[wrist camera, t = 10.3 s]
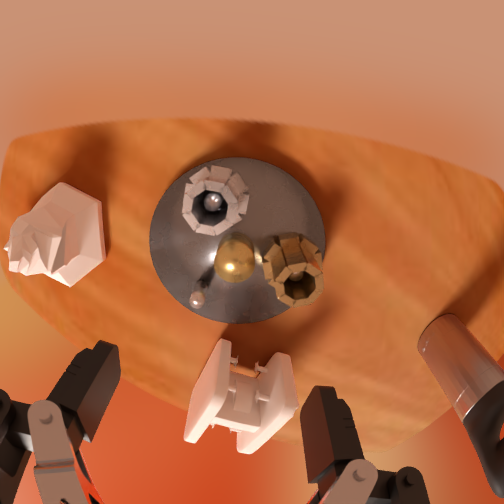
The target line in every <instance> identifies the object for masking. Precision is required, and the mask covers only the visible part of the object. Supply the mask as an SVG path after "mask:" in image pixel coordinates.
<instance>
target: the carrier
mask: <svg viewBox="0 0 504 504" xmlns="http://www.w3.org/2000/svg"><path fill="white" fill-rule="evenodd" d="M213 164H215V165H221V166H226V167H231V168H233V170H232V175H233V174H234V173H236V172H237V171H238V172H239V173H240V175H241V176H242V178H243V179H244V181H245V182H246V184H247V185H248V187H249V189H248V190H247V191H245V192H249V193H250V196H249V200H248V205H247V209H246V214H242V220H240V221H239V222H237V223H235V224H234V225H233V226H231V227H230V228H228V229H226V230H225V231H223V232H222V233H220V234H219V235H216V234H215V236H212V235H207V234H202V233H197V232H196V230H194V231H193V229H192V228H191V227H190V225H189V224H188V222H187V221H186V220H185V218H184V217H183V214H184V213H182V208H183V200H184V193H185V187H186V183H187V182H189V181H191V180H190V177H192V176H193V175H194V174H196V173H197V172H199V171H200V170H202V169H203V168H204V167H206V166H209V167H210V169H211V167H212V165H213ZM203 200H204V206H205V208H206V209H208V210H210V211H215V210H220V211H221V210H222V209H224V208H225V207H227V206H228V203H227V202H226V200H225V199H224V197H223V196H222V194H221V193H220V192H215V191H210V190H204V193H203ZM295 232H297V234H298V236H300V235H301V234H303V235H305V236H306V237H307V238H309V239H310V240H312V241H313V242H314V243H316V245H317V247H318V248H319V250H320V252H321V256H322V262H323V259H324V253H325V231H324V225H323V221H322V218H321V215H320V212H319V210H318V208H317V206H316V204H315V202H314V200H313V199H312V197H311V196H310V194H309V193H308V191H307V190H306V189H305V188H304V187H303V186H302V185H301V184H300V183H299V182H298V181H297V180H296V179H295V178H293V177H292V176H291V175H290V174H288V173H287V172H285V171H284V170H282V169H280V168H279V167H277V166H274V165H272V164H270V163H268V162H264V161H261V160H257V159H253V158H245V157H228V158H221V159H216V160H213V161H209V162H206V163H204V164H201V165H199V166H197V167H195V168H193V169H191V170H189V171H188V172H186V173H185V174H183V175H182V176H181V177H179V178H178V179H177V180H176V181H175V182H174V183H173V184H172V185H171V186H170V187H169V188H168V189H167V190H166V192H165V193H164V195H163V196H162V198H161V199H160V201H159V203H158V205H157V207H156V209H155V212H154V215H153V218H152V221H151V227H150V239H149V244H150V252H151V257H152V261H153V265H154V267H155V270H156V272H157V275H158V276H159V278H160V280H161V282H162V283H163V285H164V286H165V287H166V289H167V290H168V292H169V293H170V294H171V295H172V296H173V297H174V298H175V299H176V300H177V301H179V302H180V303H181V304H182V305H183V306H185V307H186V308H188V309H189V310H191V311H192V312H194V313H196V314H198V315H200V316H203V317H205V318H208V319H211V320H215V321H219V322H224V323H234V324H243V323H253V322H258V321H263V320H266V319H269V318H272V317H274V316H276V315H278V314H281V313H282V312H284V311H286V310H287V309H289V308H291V307H290V306H288V305H287V304H285V303H283V302H282V301H280V300H278V298H277V296H276V290H275V288H274V287H273V286H271V285H270V284H268V279H266V280H265V275H264V269H263V264H262V257H263V252H264V250H265V249H266V248H267V246H268V245H269V244H270V242H271V241H272V240H273V238H274V239H276V240H277V241H278V242H279V236H278V235H284V234H289V233H295ZM303 275H304V273H303V271H300V272H294V273H291V274H290V275H289V279H290V280H292V281H299V280H300V279H301V278H302V277H303Z"/></svg>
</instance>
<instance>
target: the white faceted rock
mask: <svg viewBox="0 0 504 504" xmlns="http://www.w3.org/2000/svg"><path fill="white" fill-rule="evenodd" d="M4 249H5V250H7V251H8V256H9V261H10V262H9V271H13V272H21V273H22V274H24V275H25V276H28V275H32V274H39V273H44V274H46V275H48V276H49V277H51V278H53V279H55V280H57V281H59V282H61V283H63V284H65V285H67V286H70V287H71V286H73V285H74V284H75V283H76V282H77V281H79V280H80V279H81V278H82V277H84V276H85V275H86V274H87V273H89V272H90V271H91V270H92V269H94V268H95V267H96V266H97V265H99V264H100V263H101V262H103V261H104V260H105V259H106V252H105V242H104V232H103V219H102V202H101V201H99V200H97V199H95V198H93V197H92V196H90V195H88V194H86V193H84V192H82V191H80V190H78V189H76V188H74V187H72V186H70V185H69V184H67V183H63V182H59V183H58V184H57V185H55V186H54V187H53V188H52V189H51V190H49V191H48V192H47V193H46V194H45V195H44V196H42V197H41V199H40V200H39V201H38V202H37V204H36V205H35V206H34V207H33V208H32V210H31V211H30V212H29V213H26V214H24V215H22V216H19V217H18V218H17V219H16V221H15V222H14V224H13V225H12V227H11V230H10V238H9V241H8V242H7V244H6V245H5V247H4Z"/></svg>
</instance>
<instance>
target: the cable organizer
mask: <svg viewBox="0 0 504 504" xmlns="http://www.w3.org/2000/svg"><path fill="white" fill-rule="evenodd" d="M231 346H232V343H231V341H228V340H225V339H222V338H221V339H220V340H219V341H218V342H217V344H216V346H215V348H214V350H213V352H212V354H211V356H210V357H209V359H208V361H207V363H206V365H205V367H204V369H203V371H202V373H201V375H200V377H199V379H198V381H197V383H196V384H195V387H194V389H193V392H192V395H191V400H190V405H189V411H188V416H187V421H186V427H185V433H184V440H185V441H187V442H191V443H196V441H197V440H198V439H199V438H200V436H201V435H202V434H203V432H204V431H205V429H206V428H207V427H208V425H209V424H211V425H213V426H212V428H213V427H214V425H215V424H219V425H222V426H226V427H230V432H231V430H232V431H236V432H237V450H238V452H241V453H246V454H251V453H253V452H254V451H256V450H257V449H259V447H260V446H261V445H263V444H264V443H265V442H266V441H267V440H268V439H270V437H271V436H273V435H274V434H275V433H276V432H277V431H278V430H279V429H280V428H281V427H282V426H283V425H284V424H285V423H286V422H287V421H288V420H289V419H290V418H292V417H293V415H294V412H295V411H296V409H298V408H299V402H298V399H297V393H296V387H295V381H294V375H293V369H292V363H291V358H290V356H289V355H287V354H284V353H280V352H277V353H275V354H274V355H273V356H272V357H271V359H270V360H269V362H268V363H267V364H266V366H265V367H262V366H258V362H257V363H256V362H255V369H254V371H255V372H257V371H260V372H261V373H260V374H259V376H258V377H257V378H253V377H250V376H246V375H243V374H239V373H236V372H233V371H230V362H231V363H234V366H235V368H236V365H237V363H238V356H237V358H233V357H231ZM258 361H259V360H258Z"/></svg>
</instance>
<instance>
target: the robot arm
mask: <svg viewBox="0 0 504 504" xmlns="http://www.w3.org/2000/svg"><path fill="white" fill-rule="evenodd" d="M418 351H419V353H420V354H421V356H422V357H423V359H424V360H425V362H426V363H427V365H428V367H429V368H430V370H431V371H432V373H433V374H434V376H435V378H436V379H437V381H438V382H439V384H440V386H441V387H442V389H443V390H444V392H445V394H446V395H447V397H448V399H449V400H450V402H451V404H452V405H453V407H454V409H455V410H456V412H457V414H458V416H459V417H460V419H461V421H462V423H463V425H464V426H465V428H466V430H467V432H468V435H469V437H470V439H471V442H472V444H473V445H474V448H475V450H476V452H477V454H478V457H479V459H480V462H481V464H482V467H483V469H484V472H485V475H486V477H487V480H488V483H489V485H490V487H491V488H492V490H493V492H494V493H495V495H497V496H498V497H500V498H504V438H503V439H502V440H500V437H499V436H500V431H501V428H502V425H503V423H504V371H503V369H502V368H501V367H500V366H499V365H498V363H497V362H496V361H495V360H494V358H493V357H492V356H491V355H490V354H489V352H488V351H487V350H486V349H485V348H484V347H483V345H482V344H481V343H480V342H479V341H478V340H477V339H476V338H475V336H474V335H473V334H472V333H471V332H470V331H469V330H468V329H467V327H466V326H465V325H464V324H463V323H462V322H461V321H460V320H459V319H458V318H457V317H456V316H455V315H453V314H445V315H443V316H441V317H439V318H437V319H436V320H434V321H433V322H432V323H431V324H430V325H429V326H428V327H427V328H426V329H425V331H424V332H423V334H422V335H421V337H420V340H419V343H418ZM120 375H121V369H120V360H119V351H118V346H117V345H114V344H111V343H108V342H105V341H102V340H99V341H98V342H97V344H96V345H95V347H94V348H93V350H91V349H88V348H86V349H84V350H82V351H81V352H79V353H78V354H77V355H76V356H75V357H74V359H73V360H72V362H71V364H70V365H69V366H68V367H67V369H66V372H64V373H63V375H62V376H61V378H60V379H59V381H58V382H57V384H56V385H55V387H54V389H53V390H52V392H51V393H50V395H49V396H48V398H47V399H46V400H40V401H36V402H34V403H33V404H25V403H21V402H17V401H13V400H11V399H10V397H9V395H8V394H7V393H6V392H5V391H3V390H2V389H0V504H13V502H14V498H15V495H16V492H17V489H18V487H19V483H20V481H21V478H22V476H23V473H24V470H25V467H26V465H27V463H28V460H29V458H30V455H31V453H32V451H33V452H34V454H35V458H36V466H34V475H35V479H36V483H37V486H38V489H39V492H40V496H41V499H42V501H43V504H104V502H103V501H102V499H101V497H100V495H99V493H98V491H97V490H96V488H95V486H94V484H93V482H92V479H91V477H90V474H89V471H88V469H87V466H86V463H85V461H84V458H83V455H82V452H81V449H80V445H81V442H82V440H86V441H88V442H90V443H91V442H92V440H93V437H94V435H95V433H96V430H97V428H98V426H99V424H100V421H101V419H102V417H103V415H104V412H105V410H106V408H107V406H108V404H109V402H110V400H111V397H112V396H113V393H114V391H115V389H116V387H117V385H118V383H119V380H120ZM300 422H301V430H302V437H303V445H304V453H305V460H306V468H307V477H308V483H318V489H317V490H316V492H315V493H314V494H313V496H312V497H311V498H310V500H309V501H308V502H307V503H306V504H430V502H429V498H428V494H427V490H426V487H425V483H424V480H423V476H422V474H421V473H420V471H419V470H417V469H416V468H414V467H404V468H402V469H400V470H399V471H398V472H389V471H382V470H377V469H376V467H375V466H374V465H373V464H372V463H371V462H369V461H367V460H365V458H364V456H363V452H362V448H361V445H360V441H359V437H358V434H357V430H356V428H355V424H354V420H353V417H352V413H351V410H350V408H349V406H348V405H347V404H346V402H345V401H344V400H343V399H338V398H337V395H336V391H335V388H334V387H331V386H314V388H313V389H312V391H311V393H310V395H309V396H308V398H307V400H306V401H305V403H304V405H303V407H302V409H301V413H300Z"/></svg>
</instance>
